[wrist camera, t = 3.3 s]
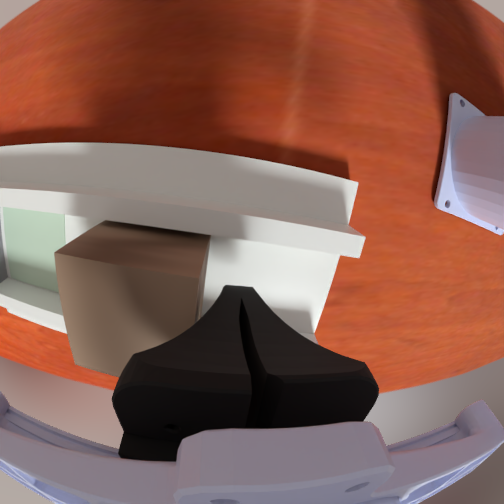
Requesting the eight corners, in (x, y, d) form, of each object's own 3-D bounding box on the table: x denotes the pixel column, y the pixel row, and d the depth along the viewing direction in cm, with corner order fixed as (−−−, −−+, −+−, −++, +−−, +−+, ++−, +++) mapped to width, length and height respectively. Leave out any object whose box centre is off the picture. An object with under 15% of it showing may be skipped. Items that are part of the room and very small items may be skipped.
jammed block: (211, 230, 12) (199, 278, 8) (200, 320, 14) (190, 391, 9) (111, 216, 12) (53, 252, 7) (113, 305, 13) (75, 364, 9)
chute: (350, 180, 13) (389, 192, 9) (296, 361, 17) (309, 406, 13) (1, 146, 10) (-40, 152, 7) (14, 305, 14) (-13, 332, 11)
